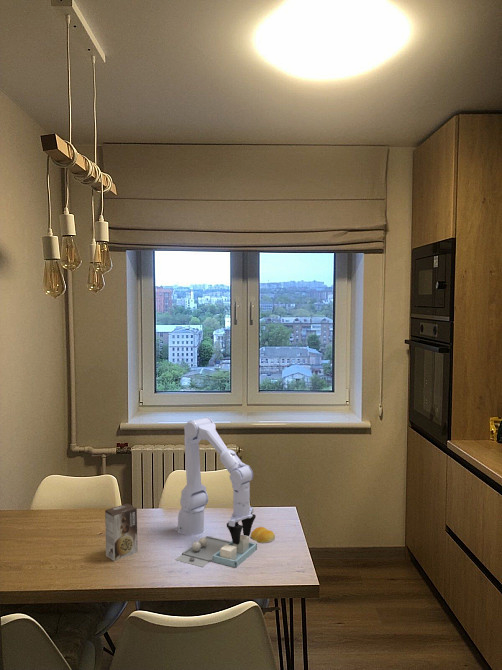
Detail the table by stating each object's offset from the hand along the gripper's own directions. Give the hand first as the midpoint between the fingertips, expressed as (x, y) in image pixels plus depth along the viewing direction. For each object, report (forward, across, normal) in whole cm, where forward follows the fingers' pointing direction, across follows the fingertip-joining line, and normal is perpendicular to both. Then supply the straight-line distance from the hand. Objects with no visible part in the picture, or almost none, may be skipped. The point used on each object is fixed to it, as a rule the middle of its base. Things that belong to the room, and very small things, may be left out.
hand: (241, 539), depth 181 cm
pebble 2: (+4, -4, +13) cm, 14 cm away
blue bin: (+4, -4, 0) cm, 6 cm away
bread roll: (+5, +13, -2) cm, 14 cm away
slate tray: (+4, -7, +11) cm, 13 cm away
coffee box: (+5, -22, +35) cm, 42 cm away
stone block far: (+4, 0, 0) cm, 4 cm away
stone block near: (+4, -9, 0) cm, 10 cm away
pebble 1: (+4, -8, +13) cm, 16 cm away
